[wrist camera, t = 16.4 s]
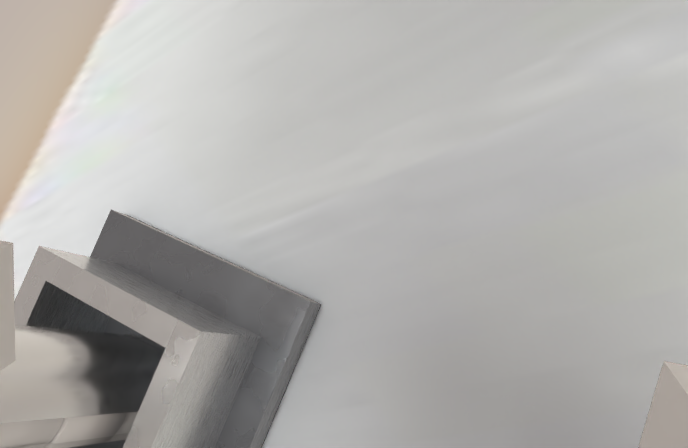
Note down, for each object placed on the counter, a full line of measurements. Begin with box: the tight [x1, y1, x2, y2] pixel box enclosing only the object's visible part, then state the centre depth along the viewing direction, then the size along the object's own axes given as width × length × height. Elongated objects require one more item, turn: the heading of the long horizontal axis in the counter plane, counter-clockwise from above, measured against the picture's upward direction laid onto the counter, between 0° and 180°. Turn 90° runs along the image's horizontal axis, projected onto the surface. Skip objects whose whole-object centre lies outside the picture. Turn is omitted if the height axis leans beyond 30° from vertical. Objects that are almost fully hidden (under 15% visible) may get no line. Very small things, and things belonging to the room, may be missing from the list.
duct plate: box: [14, 210, 321, 448], centre depth 36 cm, size 18×16×8 cm
